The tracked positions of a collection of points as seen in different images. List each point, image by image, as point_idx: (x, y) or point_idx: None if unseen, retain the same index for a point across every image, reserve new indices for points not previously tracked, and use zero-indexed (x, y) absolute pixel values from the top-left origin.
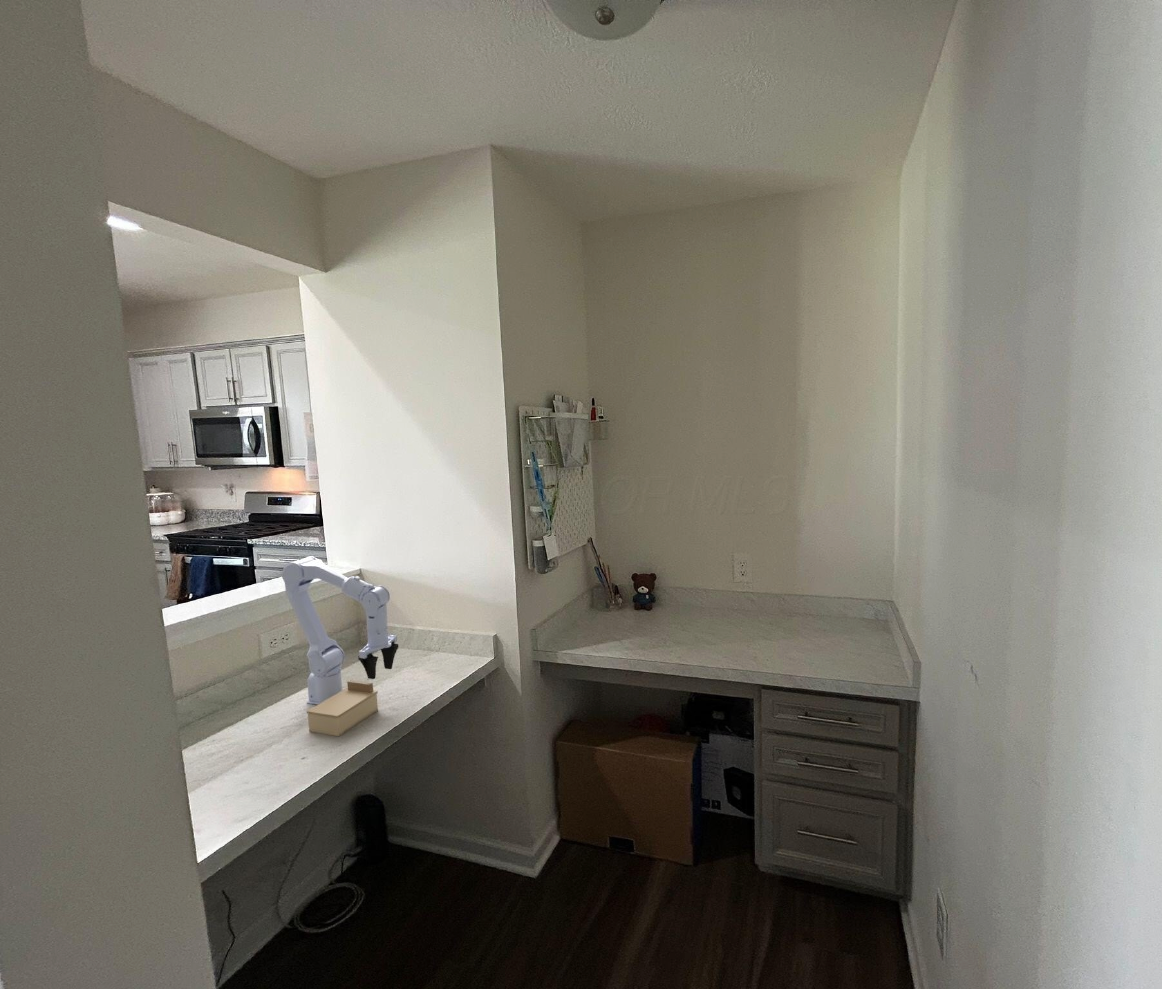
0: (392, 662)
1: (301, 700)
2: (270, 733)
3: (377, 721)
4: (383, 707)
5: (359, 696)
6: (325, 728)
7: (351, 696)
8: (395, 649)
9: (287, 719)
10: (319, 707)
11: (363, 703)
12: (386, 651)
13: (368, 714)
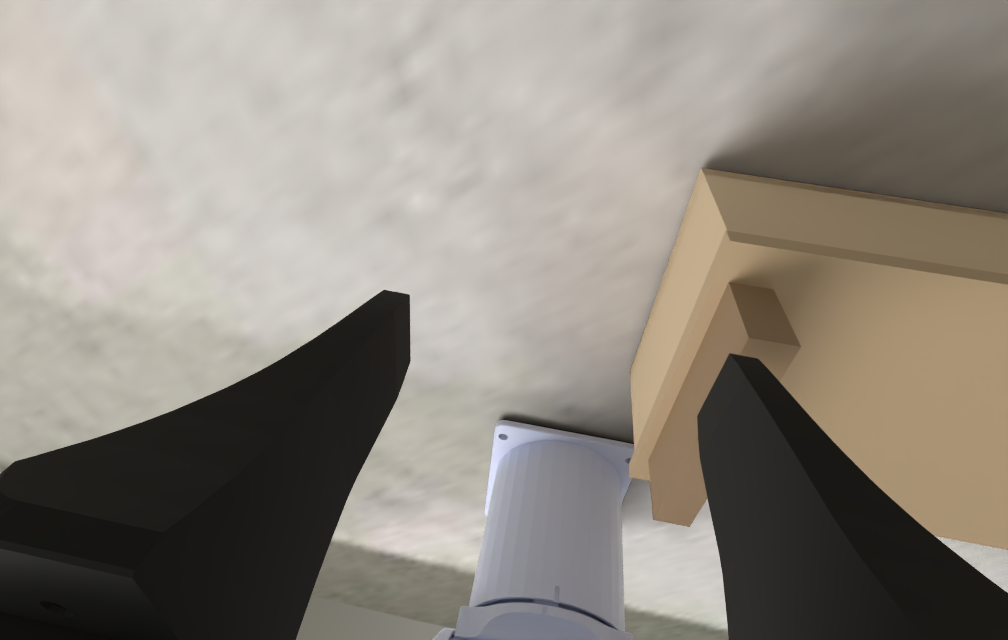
0: (346, 330)
1: None
2: None
3: (931, 58)
4: (628, 154)
5: (858, 347)
6: None
7: (840, 405)
8: (150, 473)
9: None
10: None
11: (942, 262)
12: (288, 554)
13: (826, 192)
